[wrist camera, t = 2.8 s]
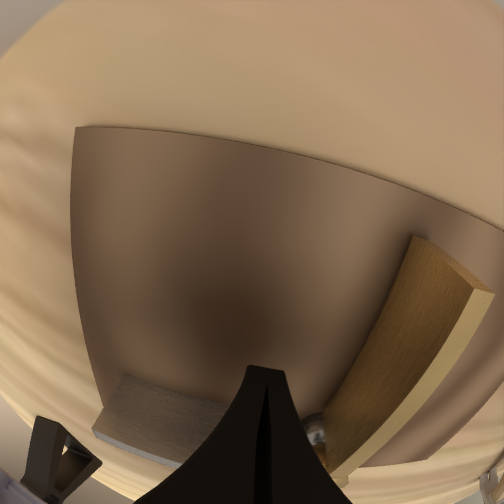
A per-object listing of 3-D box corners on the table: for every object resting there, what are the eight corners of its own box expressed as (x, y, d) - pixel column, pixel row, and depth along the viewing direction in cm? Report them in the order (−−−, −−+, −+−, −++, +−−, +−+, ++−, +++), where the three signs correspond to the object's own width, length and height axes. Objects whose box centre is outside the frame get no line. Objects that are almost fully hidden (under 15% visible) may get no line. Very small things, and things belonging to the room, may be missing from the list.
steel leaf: (127, 390, 14) (98, 442, 10) (123, 364, 13) (88, 421, 9) (331, 434, 14) (335, 492, 10) (348, 413, 13) (356, 477, 9)
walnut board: (112, 413, 17) (108, 420, 16) (87, 126, 9) (75, 127, 9) (424, 453, 16) (426, 459, 16) (558, 264, 9) (564, 269, 8)
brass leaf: (332, 437, 13) (335, 492, 10) (294, 434, 13) (293, 492, 10) (445, 246, 9) (507, 297, 5) (397, 230, 9) (456, 283, 5)
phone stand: (103, 462, 24) (74, 525, 13) (77, 453, 25) (48, 509, 14) (59, 422, 21) (19, 492, 10) (37, 414, 22) (-1, 473, 11)
